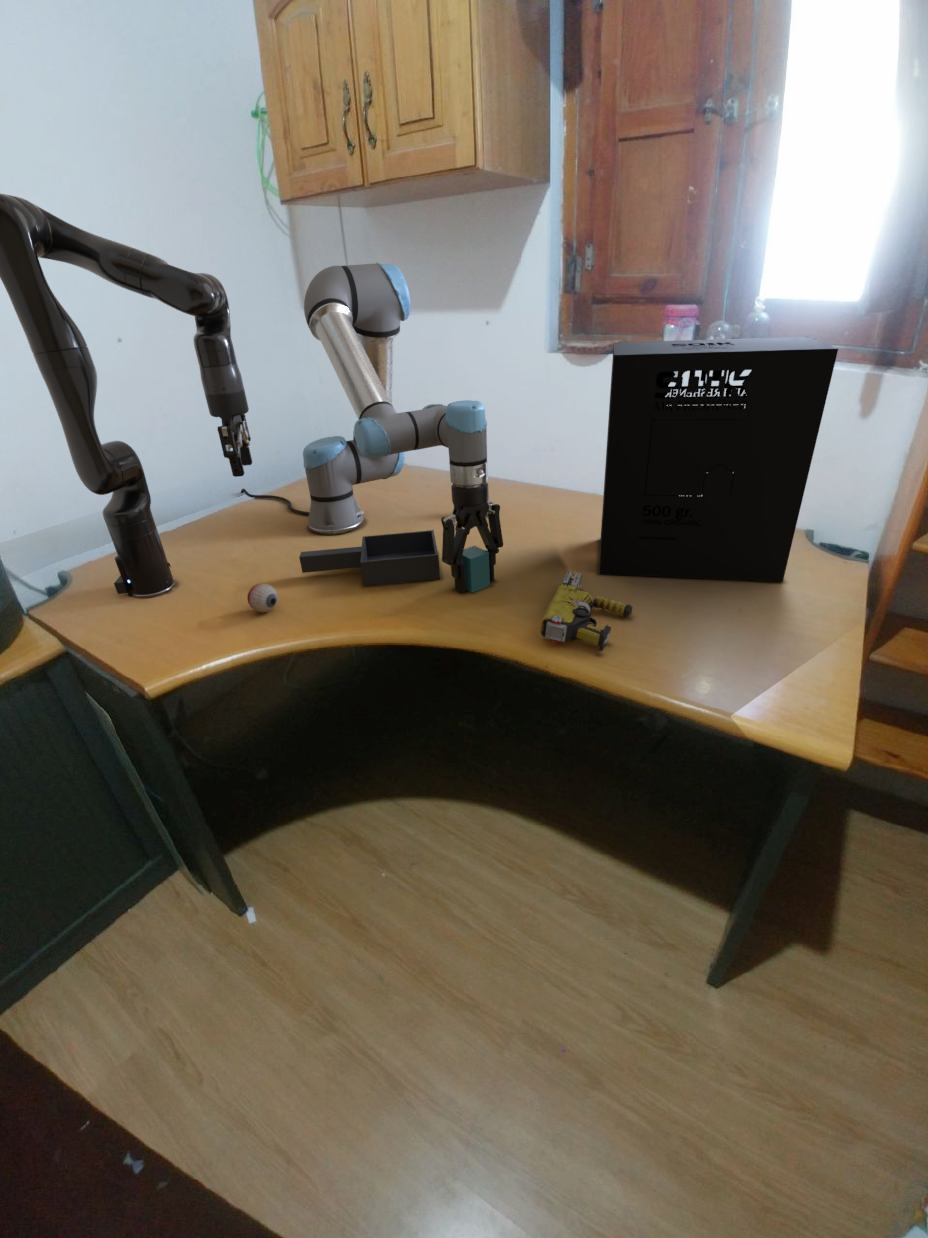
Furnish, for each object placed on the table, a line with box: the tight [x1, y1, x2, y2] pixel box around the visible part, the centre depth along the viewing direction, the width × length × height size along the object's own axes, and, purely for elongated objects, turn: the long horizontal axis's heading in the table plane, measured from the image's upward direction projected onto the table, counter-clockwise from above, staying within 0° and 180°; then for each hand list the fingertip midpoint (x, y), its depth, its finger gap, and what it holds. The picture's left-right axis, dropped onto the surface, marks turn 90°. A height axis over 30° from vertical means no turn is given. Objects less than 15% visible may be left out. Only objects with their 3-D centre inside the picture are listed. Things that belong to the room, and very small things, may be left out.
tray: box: [299, 529, 441, 587], centre depth 140 cm, size 31×15×6 cm, turn 96°
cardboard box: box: [598, 335, 839, 583], centre depth 128 cm, size 38×20×45 cm, turn 78°
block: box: [460, 545, 491, 594], centre depth 131 cm, size 5×5×8 cm
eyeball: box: [246, 583, 279, 613], centre depth 126 cm, size 6×6×6 cm
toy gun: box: [540, 570, 633, 652], centre depth 116 cm, size 5×24×15 cm
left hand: (243, 470), depth 127 cm, fingers open, 8 cm apart
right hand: (474, 584), depth 132 cm, fingers open, 7 cm apart
